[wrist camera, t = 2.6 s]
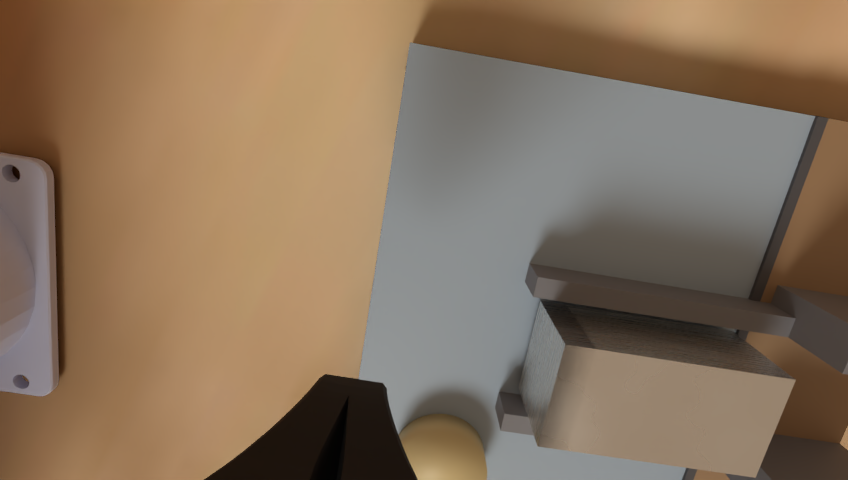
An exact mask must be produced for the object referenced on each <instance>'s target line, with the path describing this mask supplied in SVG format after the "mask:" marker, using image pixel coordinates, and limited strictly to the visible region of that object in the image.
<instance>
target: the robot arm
mask: <svg viewBox="0 0 848 480" xmlns="http://www.w3.org/2000/svg"><path fill="white" fill-rule="evenodd" d="M13 166H15V167H16V168H17V169H18V170H19V172H20V179H17V178H16V177H15V176H14V175H13V172H12V168H13ZM22 375H23V376H25V377H26V378H27V379H28V381H29V382H27V381H25V380H24V379H23V377H22ZM58 383H59V363H58V322H57V282H56V242H55V201H54V176H53V171H52V169H51V168H50V166H49V165H48V164H47V163H45V162H44V161H43V160H40V159H37V158H32V157H26V156H20V155H14V154H8V153H2V152H0V391H4V392H11V393H18V394H26V395H33V396H45V395H47V394H49V393H51V392H52V391H53V390H54V389H55V388H56V387H57V386H58ZM204 480H418V479H417V477H416V475H415V472H414V470H413V468H412V466H411V464H410V462H409V460H408V457H407V455H406V453H405V450H404V448H403V445H402V443H401V440H400V437H399V435H398V432H397V430H396V427H395V424H394V420H393V417H392V414H391V410H390V406H389V402H388V396H387V388H386V387H385V385H384V384H383V383H380V382H373V381H367V380H360V379H353V378H347V377H340V376H333V375H327V374H325V375H324V376H322V377H321V378H319V380H318V381H317V382H316V383H315V384H314V386H313V387H312V388H311V389H310V390H309V391H308V392H307V394H306V395H305V396H304V397H303V398H302V399H301V400H300V401H299V402H298V403H297V404H296V405H295V406H294V407H293V408H292V409H291V410H290V411H289V412H288V413H287V414H286V415H285V416H284V417H283V418H282V419H280V420H279V421H278V422H277V423H276V424H275V425H274V426H273V427H272V428H271V429H270V430H269V431H267V432H266V433H265V434H264V435H263V436H261V437H260V438H259V439H258V440H257V441H255V442H254V443H253V444H252V445H251V446H249V447H248V448H247V449H246V450H245V451H243V452H242V453H241V454H239V455H238V456H237V457H235V458H234V459H233V460H231V461H230V462H229V463H227V464H226V465H225V466H223V467H222V468H220V469H219V470H218V471H216V472H215V473H213V474H212V475H210V476H209V477H207V478H206V479H204Z"/></svg>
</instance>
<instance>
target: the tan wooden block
mask: <svg viewBox="0 0 848 480" xmlns="http://www.w3.org/2000/svg"><path fill="white" fill-rule="evenodd" d="M795 381H796V380H795V379H794V378H793V377H792V376H790V375H789V374H788V373H786V372H785V371H784V370H782V369H781V368H780V367H779V366H777V365H776V364H775V363H773V362H772V361H771V360H769V359H768V358H767V357H766V356H764V355H763V354H762V353H760V352H759V351H758V350H757V349H755V348H754V347H753V346H751V345H750V344H749V343H747V342H746V341H745V340H744V339H742V338H741V337H740V336H738V335H737V334H736V333H734V332H733V331H730V330H724V329H718V328H711V327H705V326H699V325H692V324H686V323H680V322H673V321H667V320H661V319H654V318H648V317H642V316H635V315H629V314H623V313H616V312H610V311H604V310H597V309H591V308H585V307H578V306H572V305H566V304H560V303H553V302H547V301H541V300H540V303H539V307H538V311H537V315H536V319H535V323H534V327H533V331H532V335H531V339H530V343H529V347H528V352H527V356H526V360H525V364H524V368H523V372H522V376H521V380H520V384H519V391H520V394H521V397H522V400H523V404H524V407H525V410H526V413H527V416H528V419H529V422H530V425H531V428H532V431H533V434H534V437H535V440H536V443H537V446H538V447H544V448H551V449H558V450H565V451H572V452H579V453H586V454H593V455H600V456H607V457H614V458H621V459H628V460H635V461H642V462H649V463H656V464H663V465H670V466H677V467H684V468H691V469H698V470H705V471H712V472H719V473H726V474H733V475H740V476H747V477H754V478H756V475H757V473H758V471H759V468H760V466H761V463H762V461H763V458H764V456H765V454H766V451H767V449H768V446H769V444H770V441H771V439H772V437H773V434H774V432H775V429H776V427H777V425H778V422H779V420H780V417H781V415H782V412H783V410H784V408H785V405H786V403H787V400H788V398H789V395H790V393H791V391H792V388H793V386H794V383H795Z"/></svg>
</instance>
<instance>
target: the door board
mask: <svg viewBox="0 0 848 480" xmlns="http://www.w3.org/2000/svg"><path fill="white" fill-rule="evenodd" d="M540 300H541V301H547V302H553V303H560V304H566V305H572V306H578V307H585V308H591V309H597V310H604V311H610V312H616V313H623V314H629V315H635V316H642V317H648V318H654V319H661V320H667V321H673V322H680V323H686V324H692V325H699V326H705V327H711V328H718V329H724V330H730V331H733V332H734V333H736V334H737V335H738V336H740V337H741V338H742V339H744V340H745V341H746V342H747V343H749V344H750V345H751V346H753V347H754V348H755V349H757V350H758V351H759V352H760V353H762V354H763V355H764V356H766V357H767V358H768V359H769V360H771V361H772V362H773V363H775V364H776V365H777V366H779V367H780V368H781V369H782V370H784V371H785V372H786V373H788V374H789V375H790V376H792V377H793V378H794V379H795V380H796V381H795V383H794V386H793V388H792V391H791V393H790V395H789V398H788V400H787V403H786V405H785V408H784V410H783V412H782V415H781V417H780V420H779V422H778V425H777V427H776V429H775V432H774V434H773V437H772V439H771V441H770V444H769V446H768V449H767V451H766V454H765V456H764V458H763V461H762V463H761V466H760V468H759V471H758V473H757V475H756V478H754V477H747V476H740V475H733V474H726V473H719V472H712V471H705V470H698V469H691V468H684V467H677V466H670V465H663V464H656V463H649V462H642V461H635V460H628V459H621V458H614V457H607V456H600V455H593V454H586V453H579V452H572V451H565V450H558V449H551V448H544V447H538V446H537V443H536V440H535V437H534V434H533V431H532V428H531V425H530V422H529V419H528V416H527V413H526V410H525V407H524V404H523V400H522V397H521V394H520V391H519V384H520V380H521V376H522V372H523V368H524V364H525V360H526V356H527V352H528V347H529V343H530V339H531V335H532V331H533V327H534V323H535V319H536V315H537V311H538V307H539V303H540ZM359 379H360V380H367V381H373V382H380V383H383V384H384V385H385V387H386V388H387V396H388V402H389V406H390V410H391V414H392V417H393V420H394V424H395V427H396V430H397V432H398V435H399V437H400V440H401V443H402V445H403V448H404V450H405V453H406V455H407V457H408V460H409V462H410V464H411V466H412V468H413V470H414V472H415V475H416V477H417V479H418V480H848V450H847V449H845V448H844V447H843V446H842V445H841V444H839V443H840V441H841V439H842V437H843V435H844V432H845V430H846V428H847V426H848V122H846V121H841V120H835V119H830V118H825V117H819V116H812V115H806V114H801V113H795V112H790V111H784V110H779V109H773V108H768V107H762V106H757V105H751V104H746V103H740V102H735V101H729V100H724V99H718V98H713V97H707V96H702V95H696V94H691V93H685V92H680V91H674V90H669V89H663V88H658V87H652V86H647V85H641V84H636V83H630V82H625V81H619V80H614V79H608V78H603V77H597V76H592V75H586V74H581V73H575V72H570V71H564V70H559V69H553V68H548V67H542V66H537V65H531V64H526V63H520V62H515V61H509V60H504V59H498V58H493V57H487V56H482V55H476V54H471V53H465V52H460V51H454V50H449V49H443V48H438V47H432V46H427V45H421V44H416V43H410V46H409V53H408V59H407V66H406V72H405V79H404V85H403V92H402V98H401V105H400V111H399V118H398V125H397V131H396V138H395V144H394V151H393V157H392V164H391V170H390V177H389V183H388V190H387V196H386V203H385V209H384V216H383V223H382V229H381V236H380V242H379V249H378V255H377V262H376V268H375V275H374V281H373V288H372V294H371V301H370V308H369V314H368V321H367V327H366V334H365V340H364V347H363V353H362V360H361V366H360V373H359Z"/></svg>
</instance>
